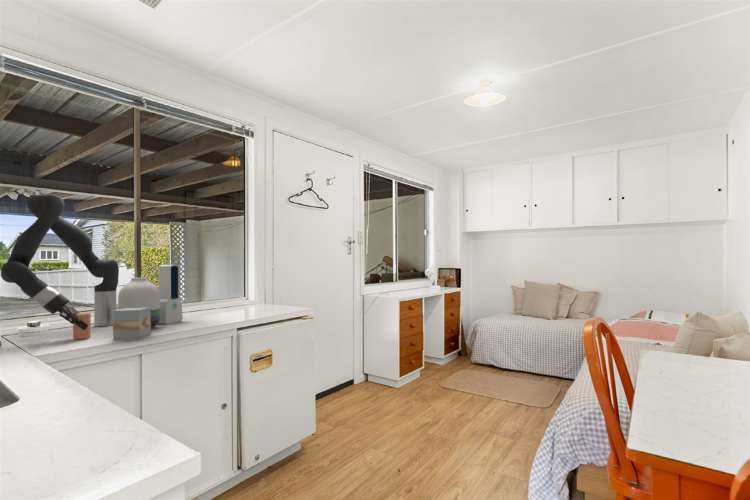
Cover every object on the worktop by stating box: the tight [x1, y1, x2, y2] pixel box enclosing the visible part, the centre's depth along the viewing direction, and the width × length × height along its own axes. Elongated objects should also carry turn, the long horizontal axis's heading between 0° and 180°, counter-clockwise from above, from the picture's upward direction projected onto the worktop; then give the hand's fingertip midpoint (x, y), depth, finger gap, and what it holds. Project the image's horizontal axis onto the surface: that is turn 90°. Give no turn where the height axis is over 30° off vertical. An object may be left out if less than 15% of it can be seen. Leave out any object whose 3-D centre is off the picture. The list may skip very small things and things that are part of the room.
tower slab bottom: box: [112, 326, 152, 341], centre depth 162 cm, size 10×10×4 cm
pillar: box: [72, 312, 92, 341], centre depth 160 cm, size 5×5×10 cm
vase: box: [117, 277, 160, 329], centre depth 183 cm, size 17×17×24 cm
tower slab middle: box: [112, 317, 151, 331], centre depth 162 cm, size 10×10×4 cm
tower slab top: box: [113, 307, 150, 321], centre depth 162 cm, size 10×10×4 cm
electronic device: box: [157, 264, 184, 325], centre depth 200 cm, size 12×8×30 cm, turn 168°
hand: (87, 326), depth 161 cm, fingers closed on pillar, 5 cm apart
